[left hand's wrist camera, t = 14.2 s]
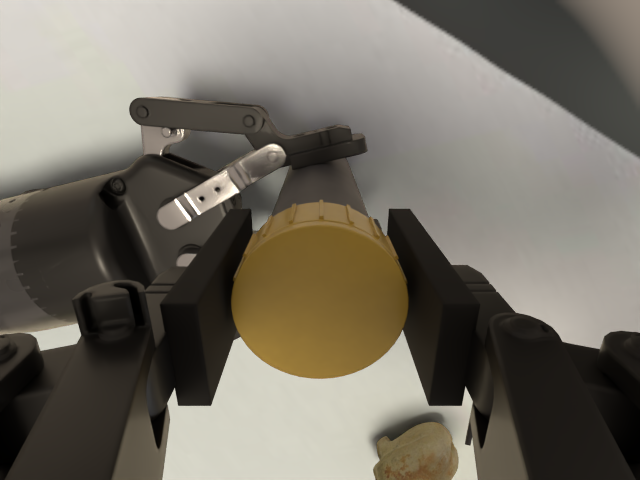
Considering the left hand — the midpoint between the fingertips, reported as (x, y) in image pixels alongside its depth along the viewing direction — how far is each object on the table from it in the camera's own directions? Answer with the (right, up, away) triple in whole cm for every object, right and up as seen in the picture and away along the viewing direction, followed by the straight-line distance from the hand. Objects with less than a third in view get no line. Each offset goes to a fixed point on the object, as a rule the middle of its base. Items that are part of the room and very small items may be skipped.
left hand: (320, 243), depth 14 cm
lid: (0, -2, -4) cm, 4 cm away
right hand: (+3, +3, +5) cm, 7 cm away
